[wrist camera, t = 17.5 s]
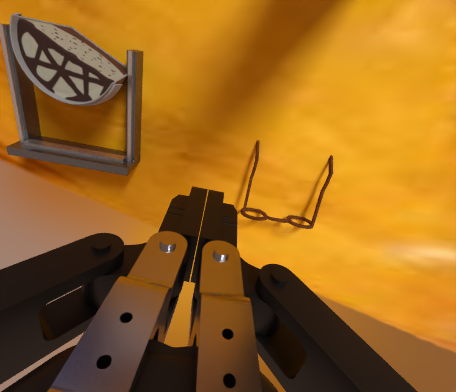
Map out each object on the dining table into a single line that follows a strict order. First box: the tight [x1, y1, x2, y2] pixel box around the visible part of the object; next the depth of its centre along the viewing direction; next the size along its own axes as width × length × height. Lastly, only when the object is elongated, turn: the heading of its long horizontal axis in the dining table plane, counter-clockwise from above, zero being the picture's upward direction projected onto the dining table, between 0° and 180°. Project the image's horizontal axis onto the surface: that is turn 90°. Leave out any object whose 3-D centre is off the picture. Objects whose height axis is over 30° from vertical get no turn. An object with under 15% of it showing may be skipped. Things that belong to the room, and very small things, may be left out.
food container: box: [10, 13, 128, 106], centre depth 35 cm, size 12×6×10 cm, turn 54°
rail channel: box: [0, 24, 143, 176], centre depth 39 cm, size 17×17×6 cm
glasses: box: [241, 141, 333, 229], centre depth 46 cm, size 13×13×5 cm
